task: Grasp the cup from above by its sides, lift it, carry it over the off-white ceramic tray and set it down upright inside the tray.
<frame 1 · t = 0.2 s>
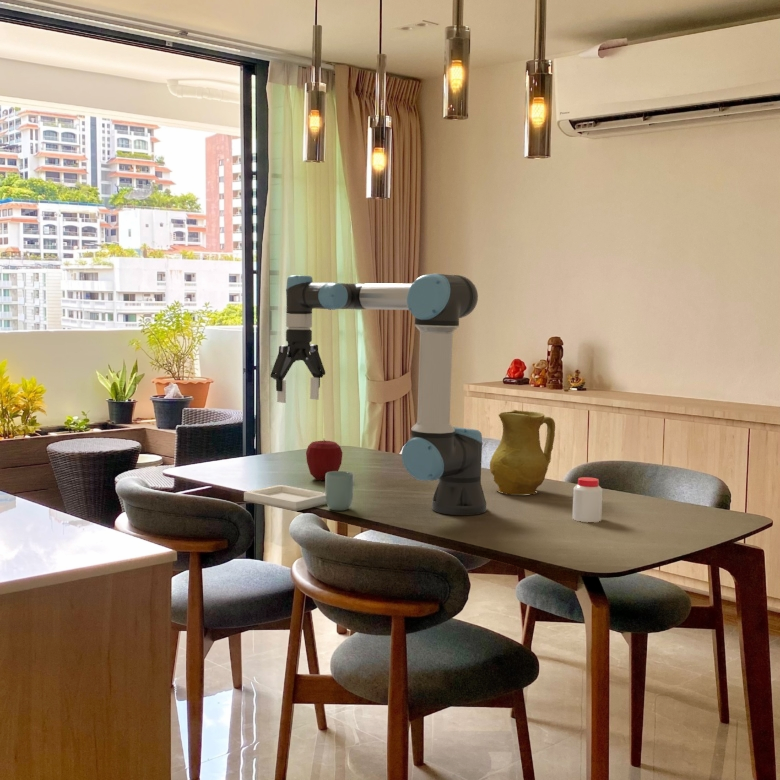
hand: (298, 400, 289), 28 cm above the table, fingers open, 13 cm apart
pill bottle: (586, 520, 264), on the table
apple: (323, 480, 313), on the table
pitcher: (520, 492, 299), on the table
cup: (339, 510, 270), on the table
tray: (287, 501, 279), on the table
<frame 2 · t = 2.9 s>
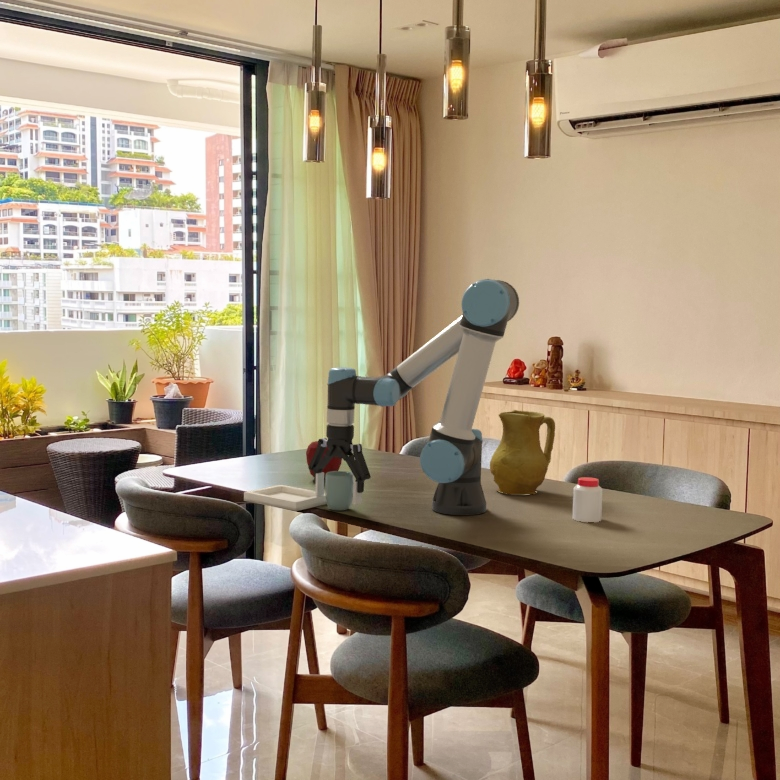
hand: (337, 500, 270), 2 cm above the table, fingers open, 13 cm apart
nothing on the table moved.
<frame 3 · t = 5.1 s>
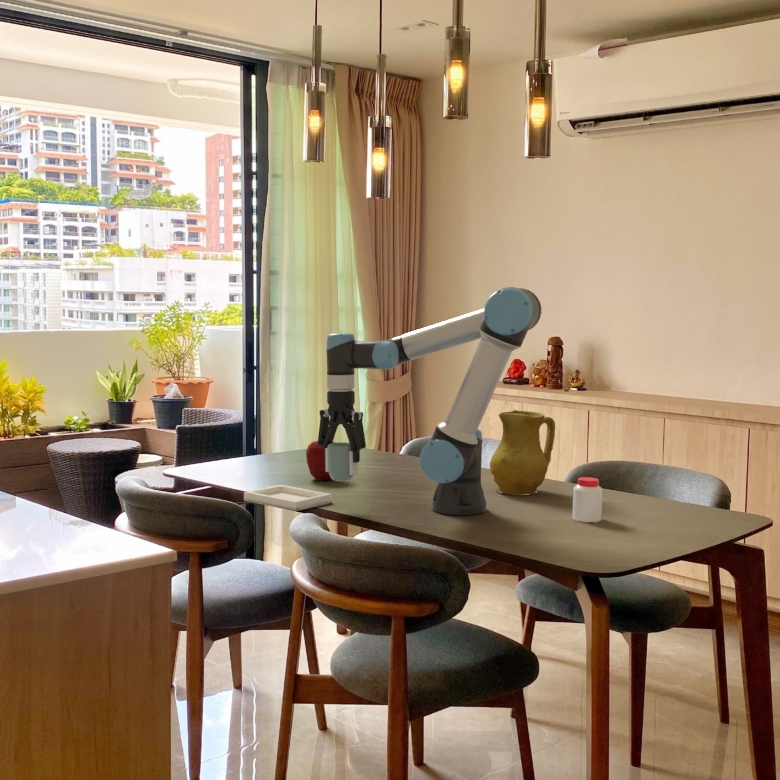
hand: (341, 472, 269), 10 cm above the table, fingers closed on cup, 8 cm apart
cup: (342, 481, 269), point 8 cm above the table, touching gripper
everything else where it was.
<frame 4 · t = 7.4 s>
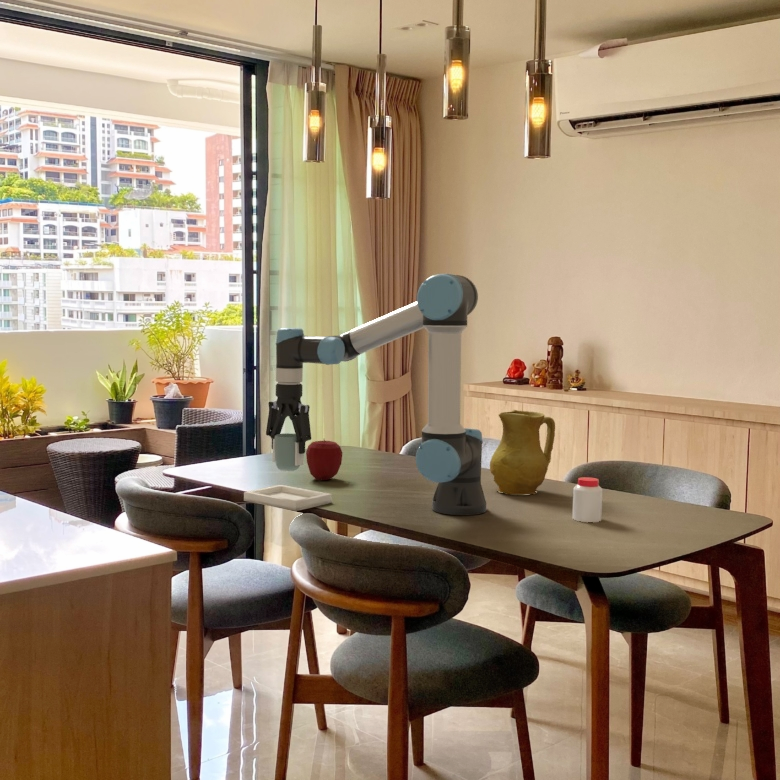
hand: (287, 462, 278), 11 cm above the table, fingers closed on cup, 8 cm apart
cup: (288, 470, 278), point 9 cm above the table, touching gripper
everything else where it was.
when the fingers open (3 cm above the table, at t = 9.7 s): cup stays where it is, resting on tray.
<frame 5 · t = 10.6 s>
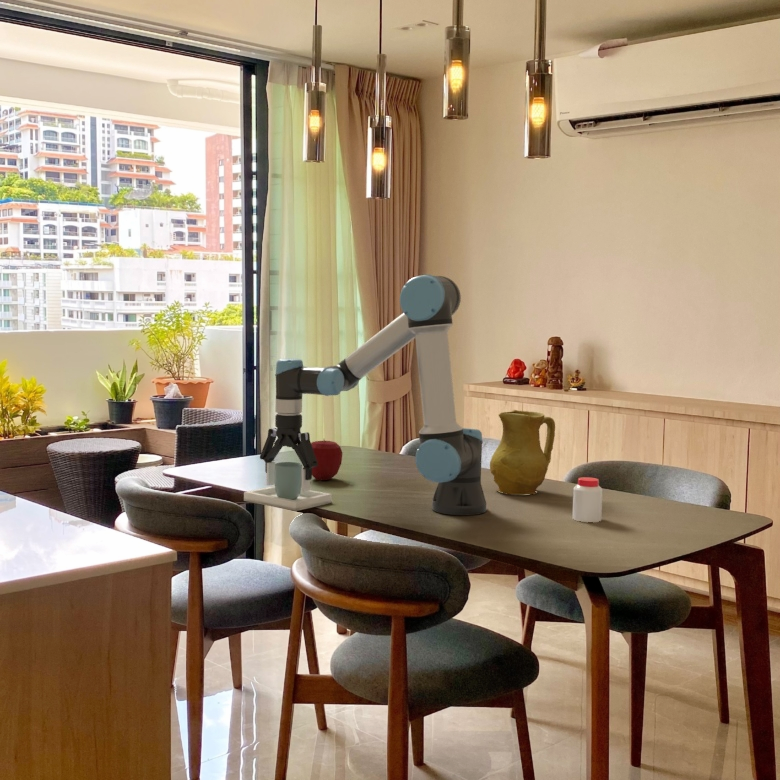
hand: (288, 488, 278), 4 cm above the table, fingers open, 13 cm apart
cup: (288, 499, 279), point 1 cm above the table, touching tray
everything else where it was.
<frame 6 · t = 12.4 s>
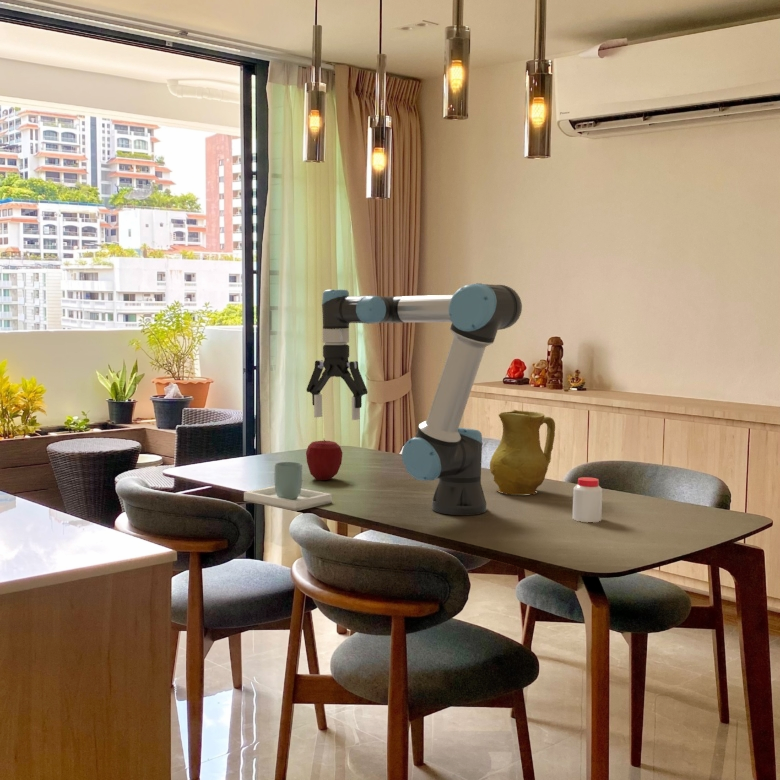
hand: (336, 418, 281), 24 cm above the table, fingers open, 13 cm apart
nothing on the table moved.
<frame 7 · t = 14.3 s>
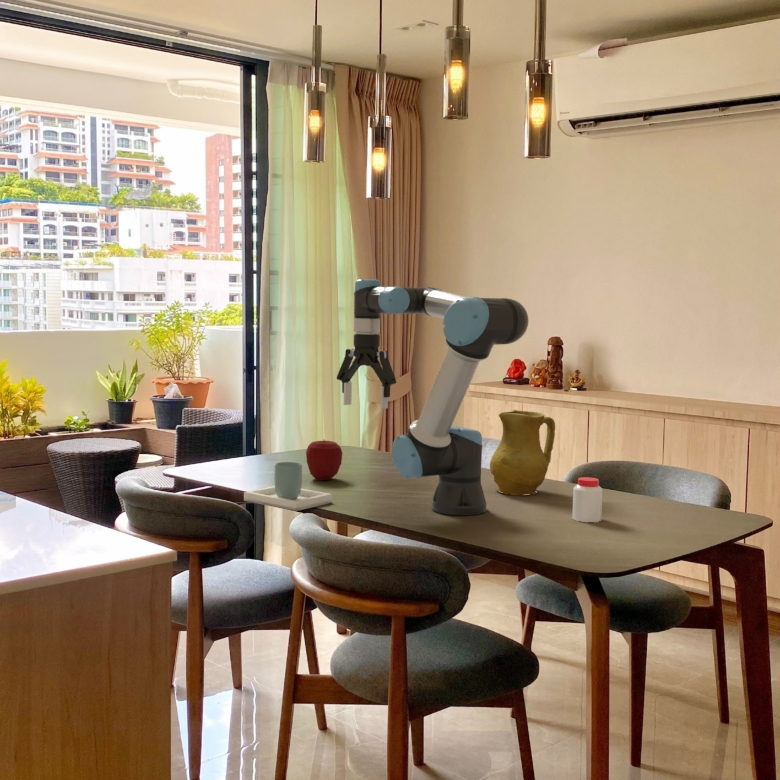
hand: (365, 406, 284), 27 cm above the table, fingers open, 13 cm apart
nothing on the table moved.
at the end: cup inside the target area on the tray (0.1 cm from its centre), point 0.6 cm above the tray's base; cup tilted 0°; the gripper is holding nothing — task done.
